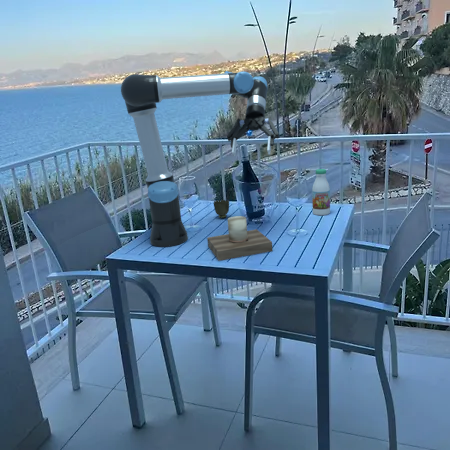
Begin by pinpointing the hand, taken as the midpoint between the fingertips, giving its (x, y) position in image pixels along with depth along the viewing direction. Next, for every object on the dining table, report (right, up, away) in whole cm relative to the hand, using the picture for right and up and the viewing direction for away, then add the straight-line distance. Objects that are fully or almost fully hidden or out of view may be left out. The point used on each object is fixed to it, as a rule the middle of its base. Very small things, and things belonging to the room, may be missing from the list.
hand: (250, 153), depth 155 cm
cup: (-11, -24, +36) cm, 45 cm away
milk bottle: (+34, -22, +30) cm, 51 cm away
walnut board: (-5, -36, -4) cm, 36 cm away
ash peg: (-5, -36, -4) cm, 36 cm away
